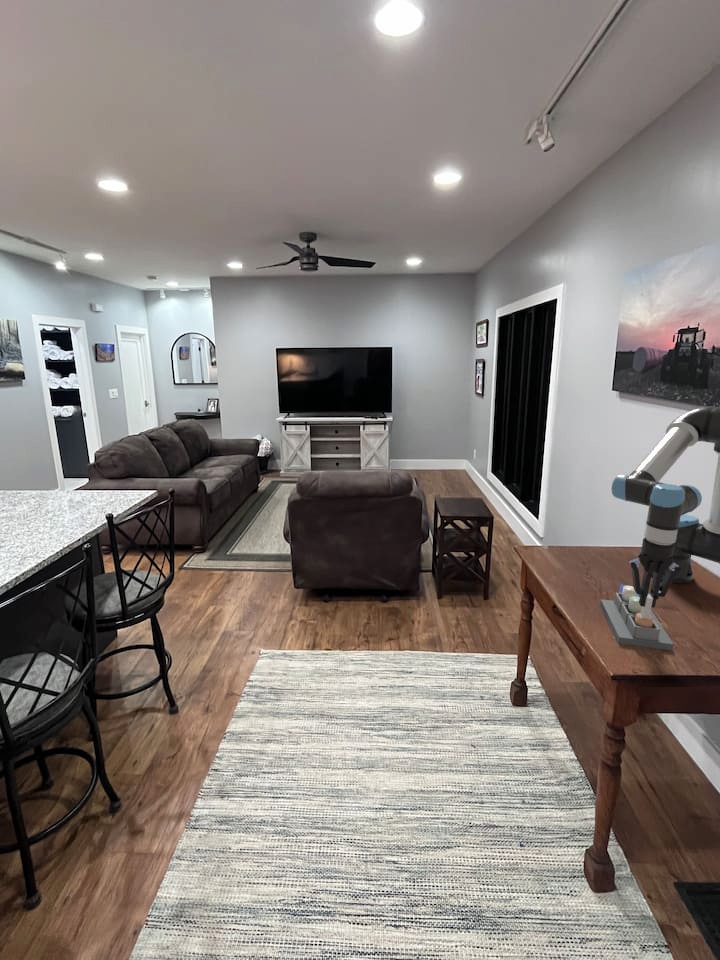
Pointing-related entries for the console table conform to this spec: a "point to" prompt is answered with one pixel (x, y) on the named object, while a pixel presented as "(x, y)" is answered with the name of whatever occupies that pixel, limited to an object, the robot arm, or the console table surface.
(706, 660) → the console table surface
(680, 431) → the robot arm
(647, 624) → the button terracotta
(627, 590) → the button ivory
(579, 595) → the console table surface
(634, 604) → the button sage
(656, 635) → the button board
